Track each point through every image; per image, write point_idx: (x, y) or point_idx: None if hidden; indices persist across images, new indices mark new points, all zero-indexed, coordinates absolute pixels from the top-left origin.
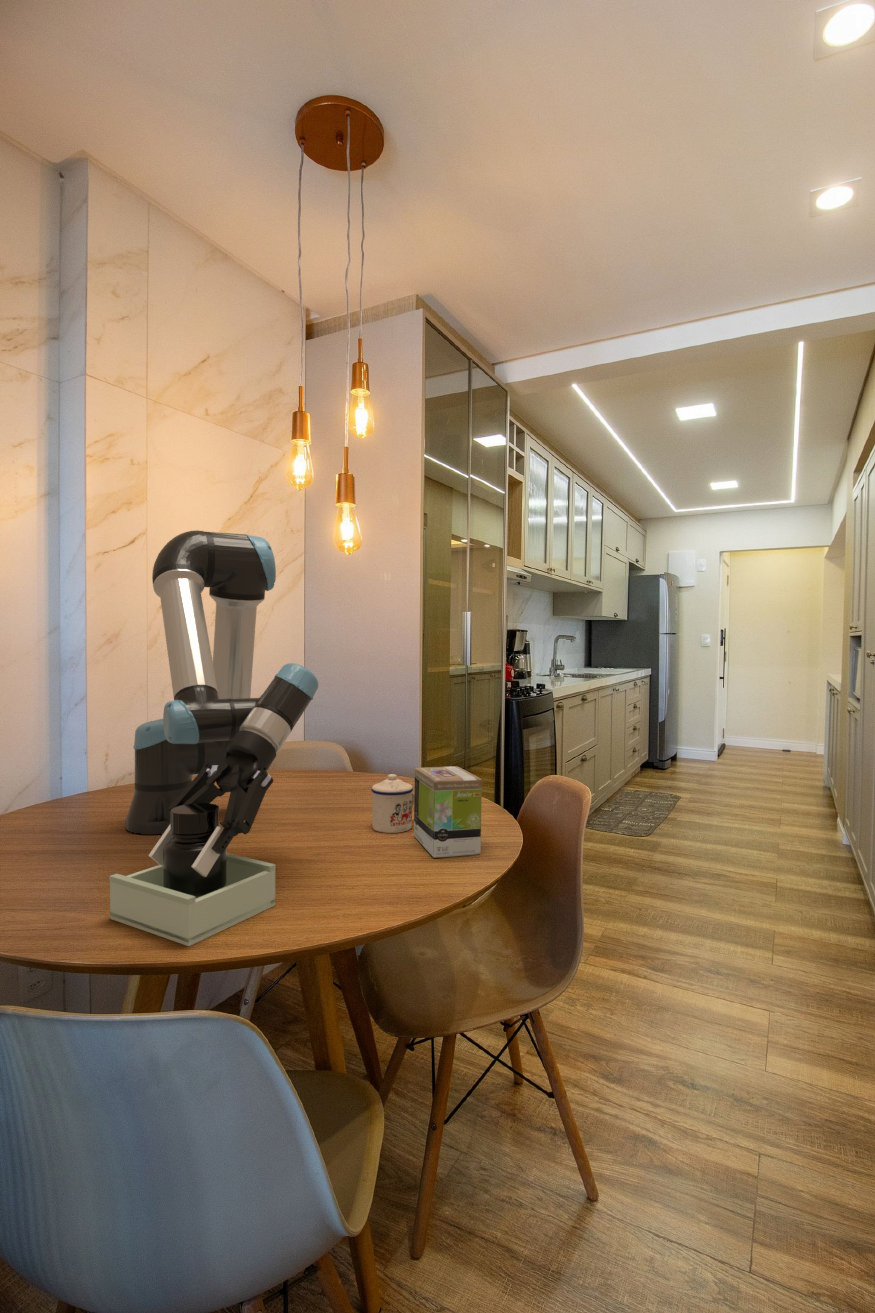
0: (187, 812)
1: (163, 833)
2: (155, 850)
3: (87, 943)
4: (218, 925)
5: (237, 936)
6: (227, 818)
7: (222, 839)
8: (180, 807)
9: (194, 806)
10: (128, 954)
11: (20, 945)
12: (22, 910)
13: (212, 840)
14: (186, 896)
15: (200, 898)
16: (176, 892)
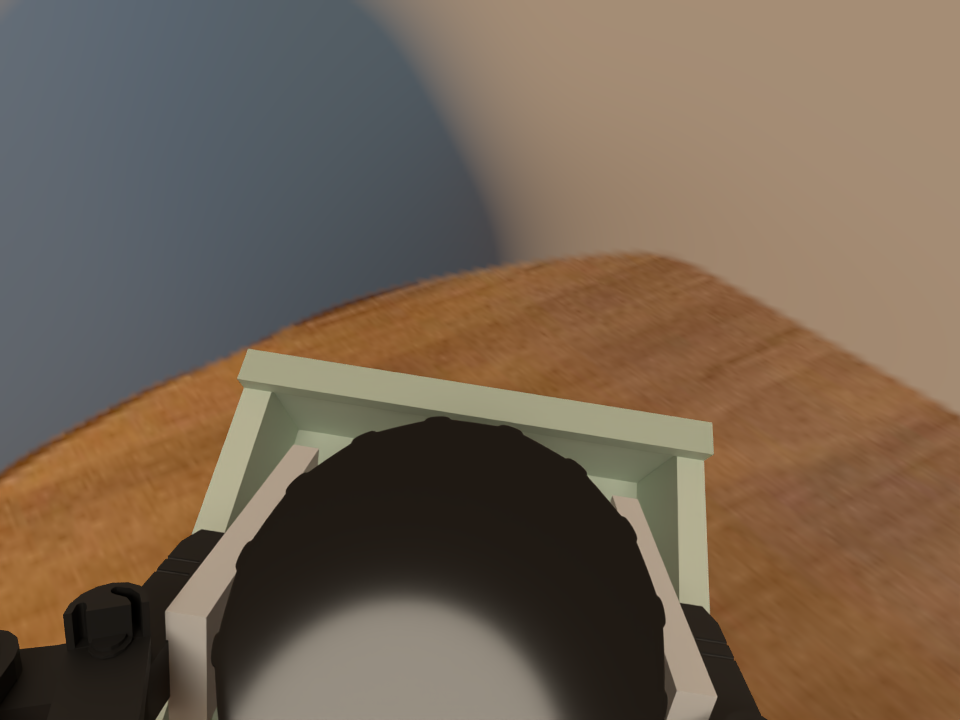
0: (411, 481)
1: (707, 625)
2: (620, 514)
3: (563, 337)
4: None
5: (175, 524)
6: (101, 690)
7: (159, 577)
8: (604, 603)
9: (510, 699)
10: (415, 328)
11: (694, 280)
12: (927, 420)
13: (223, 539)
14: (270, 366)
15: (246, 422)
16: (334, 383)
